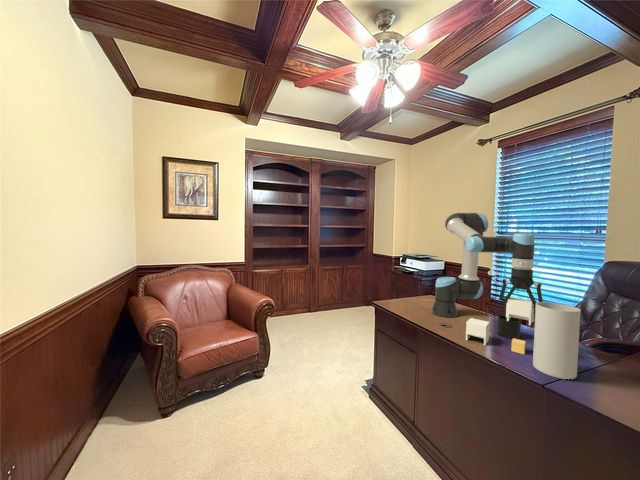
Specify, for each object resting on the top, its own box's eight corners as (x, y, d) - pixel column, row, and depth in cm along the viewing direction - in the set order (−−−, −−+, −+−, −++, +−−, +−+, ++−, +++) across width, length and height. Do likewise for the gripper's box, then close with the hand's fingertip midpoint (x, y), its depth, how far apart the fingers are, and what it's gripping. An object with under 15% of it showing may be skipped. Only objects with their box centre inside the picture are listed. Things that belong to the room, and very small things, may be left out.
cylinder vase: (524, 365, 104) (527, 303, 103) (546, 361, 107) (549, 301, 107) (562, 383, 92) (566, 312, 91) (585, 377, 96) (588, 310, 95)
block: (512, 347, 120) (513, 338, 120) (525, 351, 117) (525, 341, 117) (511, 351, 116) (511, 341, 116) (524, 354, 113) (524, 344, 113)
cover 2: (509, 316, 122) (510, 297, 122) (531, 320, 116) (533, 300, 116) (506, 320, 116) (507, 300, 116) (530, 325, 110) (531, 304, 110)
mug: (529, 338, 130) (529, 320, 130) (508, 340, 128) (509, 321, 128) (511, 331, 140) (512, 314, 139) (492, 332, 137) (493, 315, 137)
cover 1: (469, 335, 133) (470, 317, 133) (488, 340, 128) (489, 321, 127) (465, 340, 127) (466, 321, 127) (485, 345, 122) (486, 326, 121)
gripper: (492, 266, 120) (490, 315, 121) (553, 272, 105) (550, 327, 106) (495, 265, 125) (493, 311, 126) (554, 270, 111) (551, 322, 112)
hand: (519, 318), depth 116 cm, fingers closed on cover 2, 8 cm apart
